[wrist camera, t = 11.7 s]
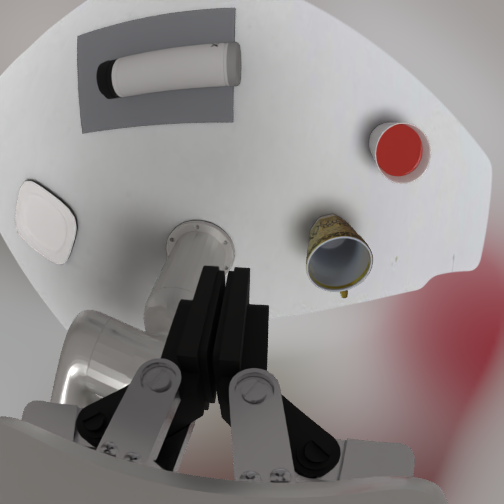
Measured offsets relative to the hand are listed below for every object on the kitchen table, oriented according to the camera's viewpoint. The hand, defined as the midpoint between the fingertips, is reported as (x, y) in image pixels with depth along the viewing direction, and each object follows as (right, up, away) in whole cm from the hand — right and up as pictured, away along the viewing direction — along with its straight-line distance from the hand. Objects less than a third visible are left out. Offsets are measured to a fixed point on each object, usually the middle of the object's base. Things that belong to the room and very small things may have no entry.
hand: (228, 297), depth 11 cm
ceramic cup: (+15, +4, +39) cm, 42 cm away
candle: (+22, +19, +29) cm, 41 cm away
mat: (-15, +29, +24) cm, 40 cm away
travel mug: (-1, +26, +21) cm, 33 cm away
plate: (-44, +8, +41) cm, 61 cm away
